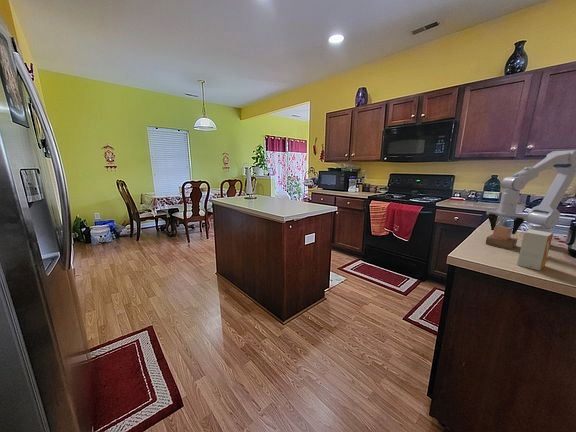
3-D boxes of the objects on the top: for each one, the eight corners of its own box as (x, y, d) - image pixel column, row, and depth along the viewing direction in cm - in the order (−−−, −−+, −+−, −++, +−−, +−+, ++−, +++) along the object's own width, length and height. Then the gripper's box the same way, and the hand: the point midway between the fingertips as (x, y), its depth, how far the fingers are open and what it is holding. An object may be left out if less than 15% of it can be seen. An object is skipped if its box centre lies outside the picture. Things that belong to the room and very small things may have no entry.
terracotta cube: (497, 235, 115) (498, 225, 114) (510, 238, 111) (512, 228, 110) (492, 237, 113) (494, 226, 112) (505, 239, 109) (507, 229, 108)
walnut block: (491, 241, 119) (493, 234, 118) (515, 246, 112) (517, 238, 111) (485, 244, 114) (486, 237, 113) (510, 250, 107) (511, 241, 106)
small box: (540, 271, 85) (548, 236, 82) (516, 265, 90) (523, 232, 87) (545, 266, 89) (553, 232, 86) (522, 260, 94) (529, 228, 91)
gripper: (485, 201, 113) (480, 229, 115) (526, 206, 100) (520, 237, 103) (492, 200, 116) (487, 227, 119) (532, 205, 104) (526, 234, 107)
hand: (502, 231), depth 111 cm, fingers open, 7 cm apart
